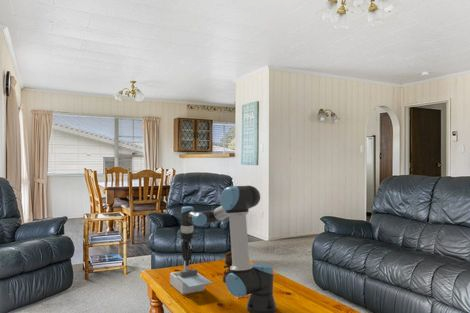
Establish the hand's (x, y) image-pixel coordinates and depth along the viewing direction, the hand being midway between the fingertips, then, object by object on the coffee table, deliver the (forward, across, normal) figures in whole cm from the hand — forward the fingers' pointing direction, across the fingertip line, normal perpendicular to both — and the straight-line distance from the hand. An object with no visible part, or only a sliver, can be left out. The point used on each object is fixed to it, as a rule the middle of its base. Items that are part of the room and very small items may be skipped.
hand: (186, 270), depth 220 cm
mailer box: (+10, +1, 0) cm, 10 cm away
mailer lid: (+2, +11, 0) cm, 12 cm away
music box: (+10, +3, +31) cm, 32 cm away
